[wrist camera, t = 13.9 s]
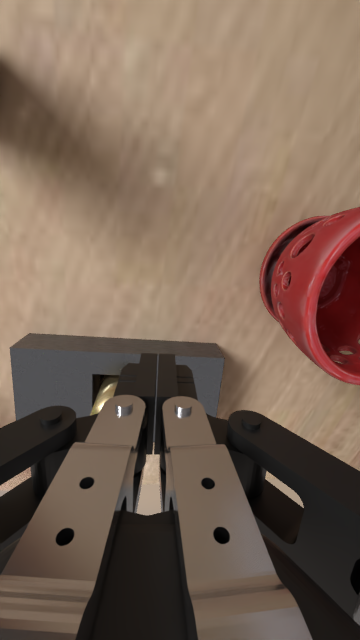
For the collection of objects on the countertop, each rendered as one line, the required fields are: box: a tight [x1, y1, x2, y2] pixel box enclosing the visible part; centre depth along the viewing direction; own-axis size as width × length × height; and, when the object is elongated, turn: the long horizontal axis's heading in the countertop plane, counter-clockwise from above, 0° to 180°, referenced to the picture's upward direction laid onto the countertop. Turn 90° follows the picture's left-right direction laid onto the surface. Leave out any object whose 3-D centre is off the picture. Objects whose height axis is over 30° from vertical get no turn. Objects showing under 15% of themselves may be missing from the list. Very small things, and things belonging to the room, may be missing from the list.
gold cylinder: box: [90, 375, 120, 415], centre depth 28 cm, size 4×4×8 cm
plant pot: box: [260, 207, 360, 385], centre depth 24 cm, size 13×13×12 cm
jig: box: [10, 333, 225, 442], centre depth 29 cm, size 20×10×4 cm, turn 85°
